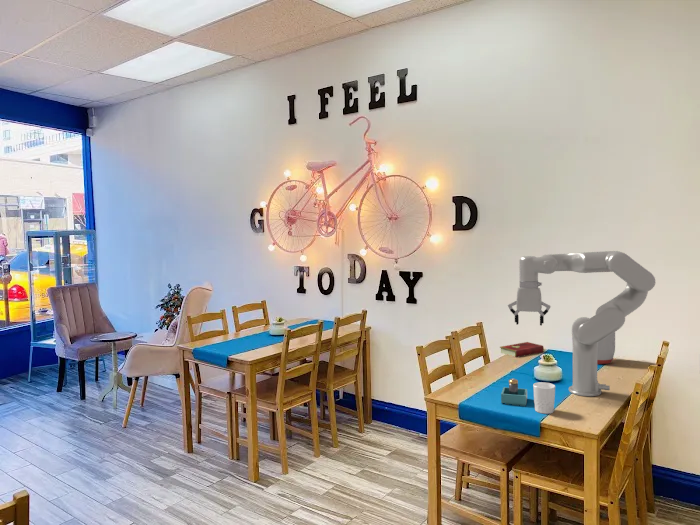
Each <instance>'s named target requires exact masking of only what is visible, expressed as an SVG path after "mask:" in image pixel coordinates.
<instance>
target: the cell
mask: <svg viewBox="0 0 700 525" xmlns="http://www.w3.org/2000/svg"><path fill="white" fill-rule="evenodd" d="M508 388H509V394H513V395H518V388H519V380H518V379H516V378H510V379H508Z"/></svg>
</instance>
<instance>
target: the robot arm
mask: <svg viewBox="0 0 700 525" xmlns="http://www.w3.org/2000/svg"><path fill="white" fill-rule="evenodd" d="M518 262H519V264H518V265H519V266H518V268H519V287H517V292H516V300H515V301H513V302H511V303H509V304H508V305H507V306H508V309H509V310H510V312H511V313H512V314H513V316H514V323H516V325H519V323H520V322H519V318H520V317H519V313H520V312H529V313H530V312H531V313H532V312H533V313H535V312H536V313H537V312H538V314H540V316H539V326H542V325H543V324H544V323H545V322H544V320H545V318H544V317H545V316H546V315H547V313H548V312H549V311H550V309H551V307H552V306H551V305H550V304H548V303H546V302H545V301H542V292H541V288H540V287H541V286H543V282H539V274H545V275H546V274H547V275H551V274H553V273H554V272H574V273H579V274H580V273H582V274H592V273H593V274H594V273H613V274H615V275H617V276H618V277H619V278H620V279H621V280H623V281H624V282H625V283H626V287H625V288H624V289H623V291H622V292H620V293H619V294H618V295H616V296H615V297H613V298H611V299H610V300H609V301H606V302H605V303H603V304H601V305H599V307H597V309H596V310H595V315H593V316H592V317H587V316H584V317H583V316H582V317H579V318H577V319H576V320H574V322H573V323H572V326H571V336H572V337H571V340H572V385H571V386H569V387H568V391H569V392H570V393H571V394H574V395H575V396H581V397H596V396H600V395H601V394H602V390H603V391H604V390H605V391H610V389H611V388H610V386H611V385H607V384H605V383H602V384H601V383H600V382H599V380H598V364H597V342H599V341H601V340H603V339H604V338H606V337H607V336H609V335H611V334H612V333H614V332H615V333H616V332H617V331H618V330H620V329H621V328H622V327H623V326H624V324H625V322H626V317H627V316H629V315H630V314H631V313H633V312H634V311H636V310H637V309H639V308H640V307H641V306H642V305H643V304H644V303H645V301H646V299H647V296H648V293H649V291H651V290H653V289H654V287H655V285H656V277H655V276H654V274H653V273H652V272H650V271H649V270H648V269H646V268H645V267H644V266H643V265H641V264H640V263H638V262H637V261H635V260H634V259H633V258H632V257H630V255H628V254H627V253H625V252H622V251H618V250H607V251H606V250H605V251H592V252H591V251H590V252H589V251H588V252H585V251H584V252H574V253H554V254H552V253H551V254H550V253H549V254H544V255H541V256H532V255H527V256H525V255H524V256H520V258H519V260H518ZM514 306H516V310H515V309H514V308H513V307H514ZM542 307H545V310H544V311H543V310H542Z"/></svg>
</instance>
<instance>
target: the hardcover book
mask: <svg viewBox="0 0 700 525" xmlns="http://www.w3.org/2000/svg"><path fill="white" fill-rule="evenodd" d="M499 348H500V354H503V355H507V354H509V355H507V356H510V355H512V356H511V357H513V356H515V357H514V358H518V356H520V357H524V355H525V356H529V354H530V355H535V354H539V353H545V352H544V351H545V350H544V349H545V348H544V345H542V344H537V343H534V342H529V341H524V342H519V343H514V344H508V345H503V346H499Z"/></svg>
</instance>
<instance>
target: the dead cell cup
mask: <svg viewBox="0 0 700 525" xmlns="http://www.w3.org/2000/svg"><path fill="white" fill-rule="evenodd" d="M500 401H501V402H500V403H506V404H505V405H509V404H512V405H511V406H519V405H520V406H522V407H526V406H527V403H528V389H527V388H519V387H518V395H513V394H509V386H508V387H506V386H504V387H502V391H501V393H500Z"/></svg>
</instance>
